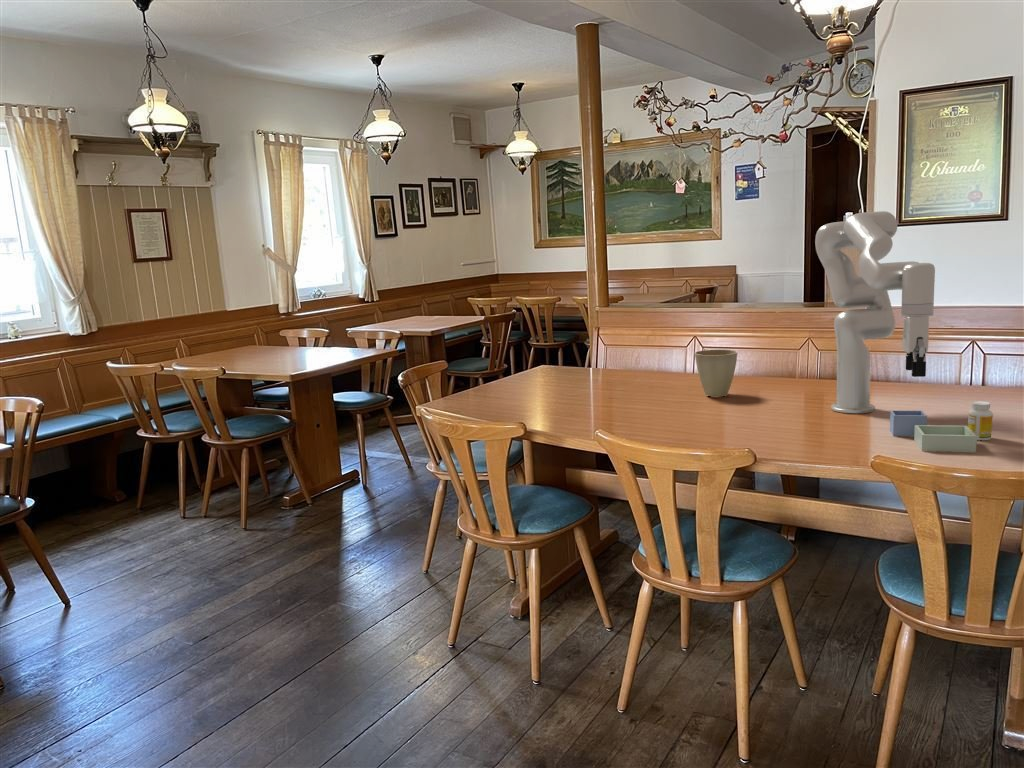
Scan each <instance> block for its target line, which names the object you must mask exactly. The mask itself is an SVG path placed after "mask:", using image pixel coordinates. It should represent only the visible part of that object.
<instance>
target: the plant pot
mask: <svg viewBox="0 0 1024 768" xmlns="http://www.w3.org/2000/svg"><path fill="white" fill-rule="evenodd" d="M694 358H695V364H696V369H697V372H698V376H699V380H700V383H701V386H702V389H703V391H704V394H705V396H706V395H708V396H724V395H727V396H728V395H729V394H728V393H729V391H730V388H731V386H732V383H733V378H734V375H735V372H736V371H735V370H736V366H737V359H738V351H737V350H733V349H705V350H698V351H694ZM708 396H707V397H708Z"/></svg>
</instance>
